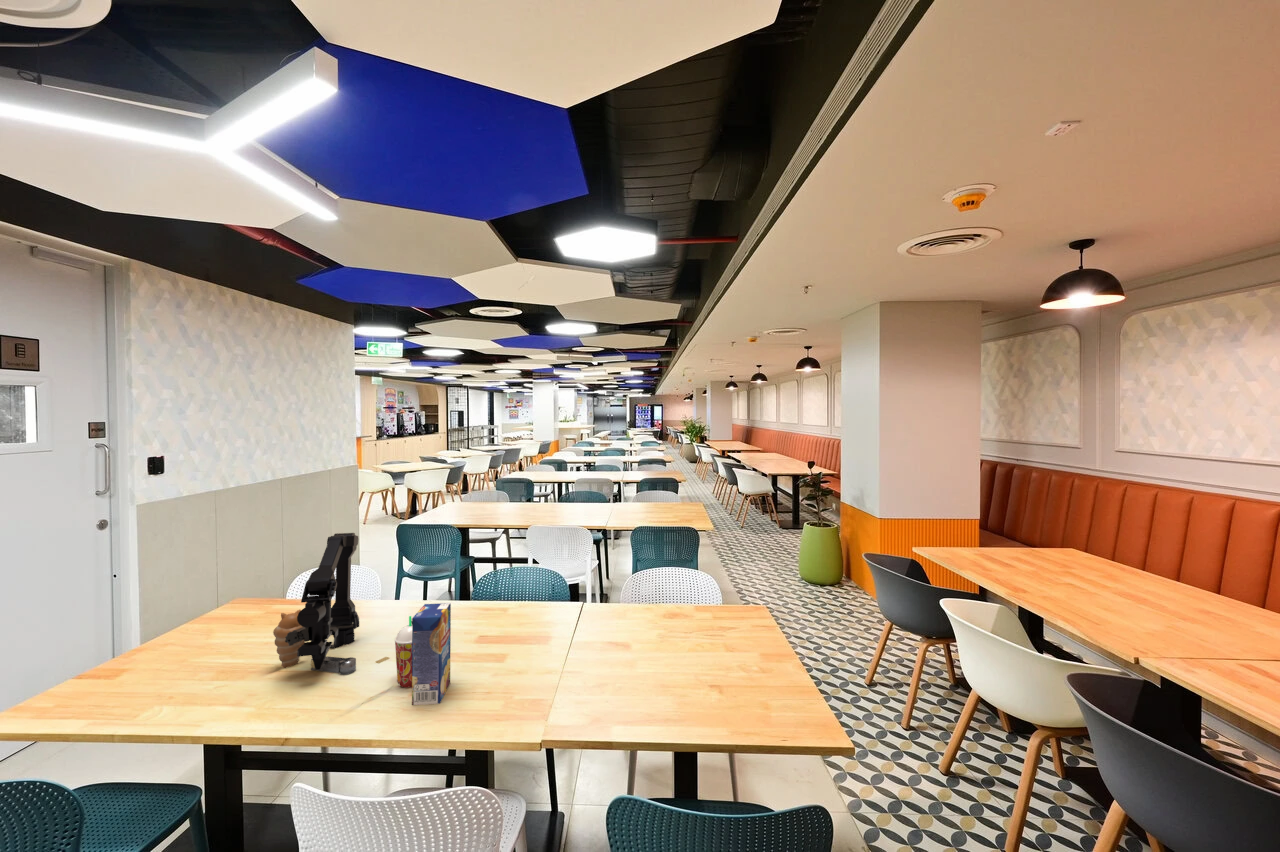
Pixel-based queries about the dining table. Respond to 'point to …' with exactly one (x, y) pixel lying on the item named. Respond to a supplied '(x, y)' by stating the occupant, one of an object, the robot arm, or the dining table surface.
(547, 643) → the dining table surface
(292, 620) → the cat ice cream
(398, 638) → the smoothie
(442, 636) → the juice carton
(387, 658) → the brass stop
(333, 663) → the swing bar
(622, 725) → the dining table surface
